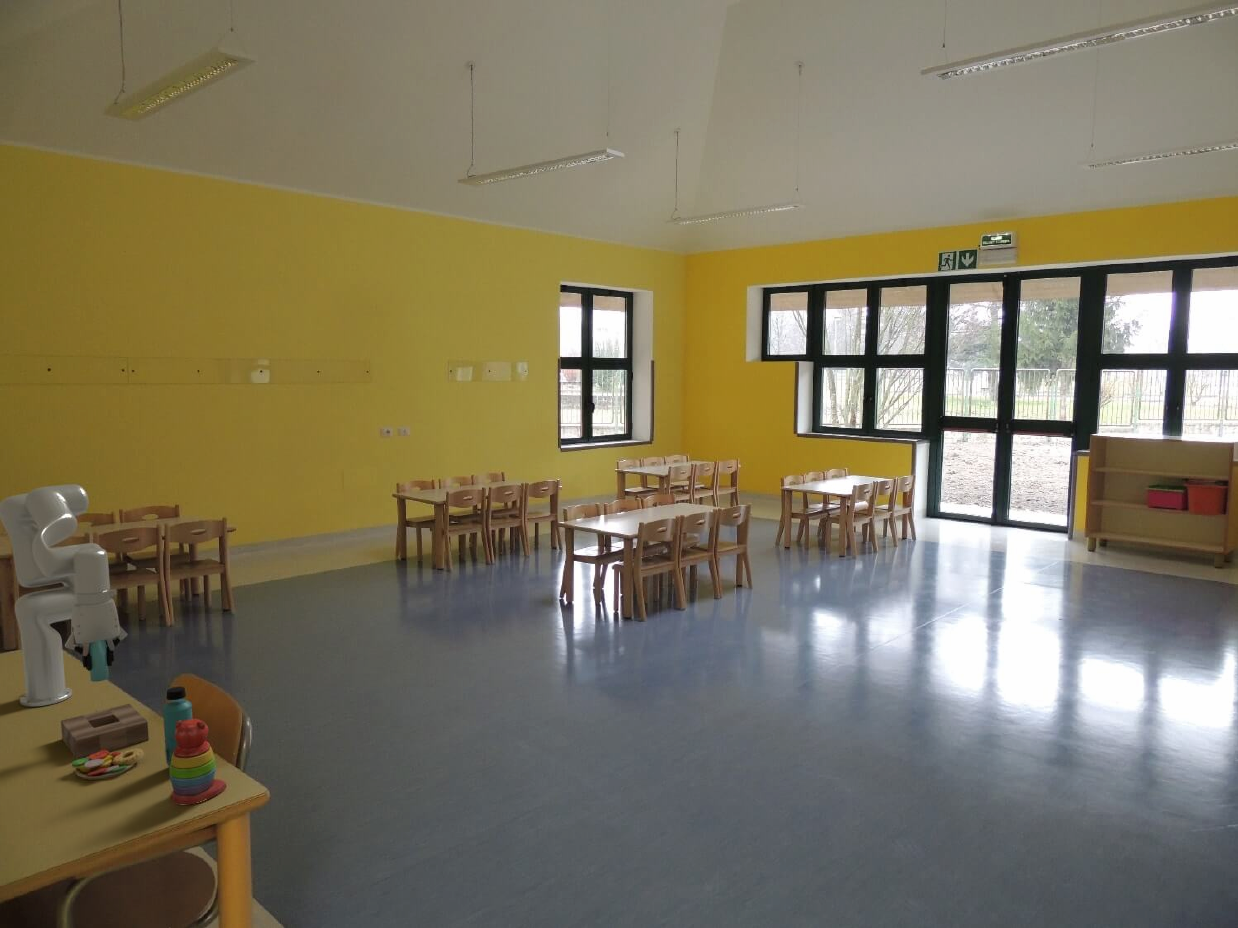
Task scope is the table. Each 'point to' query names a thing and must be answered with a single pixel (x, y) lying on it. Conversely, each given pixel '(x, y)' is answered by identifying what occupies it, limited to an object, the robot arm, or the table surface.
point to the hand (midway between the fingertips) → (98, 666)
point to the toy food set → (106, 763)
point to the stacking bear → (193, 764)
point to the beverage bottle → (174, 717)
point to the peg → (98, 661)
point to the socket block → (104, 730)
